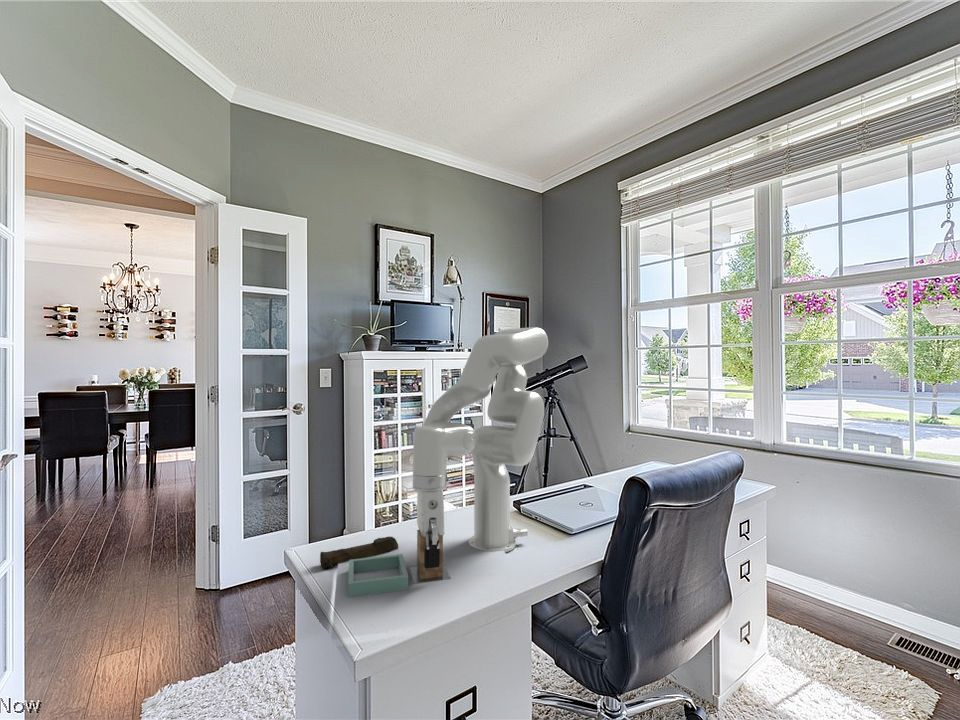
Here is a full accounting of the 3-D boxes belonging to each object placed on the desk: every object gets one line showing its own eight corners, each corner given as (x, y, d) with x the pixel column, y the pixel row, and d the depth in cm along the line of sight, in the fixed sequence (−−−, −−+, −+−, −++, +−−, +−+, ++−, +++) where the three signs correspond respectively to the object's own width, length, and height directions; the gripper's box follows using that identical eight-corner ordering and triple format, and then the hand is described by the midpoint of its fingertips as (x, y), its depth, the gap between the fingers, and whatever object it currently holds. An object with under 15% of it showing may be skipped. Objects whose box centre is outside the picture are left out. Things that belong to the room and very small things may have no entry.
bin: (402, 569, 105) (402, 553, 105) (408, 593, 93) (408, 576, 94) (348, 575, 102) (349, 559, 102) (348, 601, 90) (348, 584, 90)
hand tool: (321, 572, 104) (321, 552, 104) (319, 566, 107) (319, 546, 107) (401, 558, 112) (401, 539, 112) (396, 551, 116) (396, 533, 116)
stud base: (443, 567, 106) (443, 550, 106) (450, 583, 98) (450, 564, 98) (409, 571, 103) (409, 554, 104) (414, 588, 96) (414, 569, 96)
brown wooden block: (438, 566, 104) (438, 527, 104) (442, 576, 99) (442, 535, 99) (417, 569, 102) (417, 529, 103) (420, 579, 98) (420, 537, 98)
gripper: (453, 489, 94) (452, 572, 93) (438, 472, 110) (437, 543, 110) (418, 491, 92) (416, 576, 91) (408, 473, 108) (407, 545, 108)
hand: (428, 558), depth 100 cm, fingers open, 9 cm apart
